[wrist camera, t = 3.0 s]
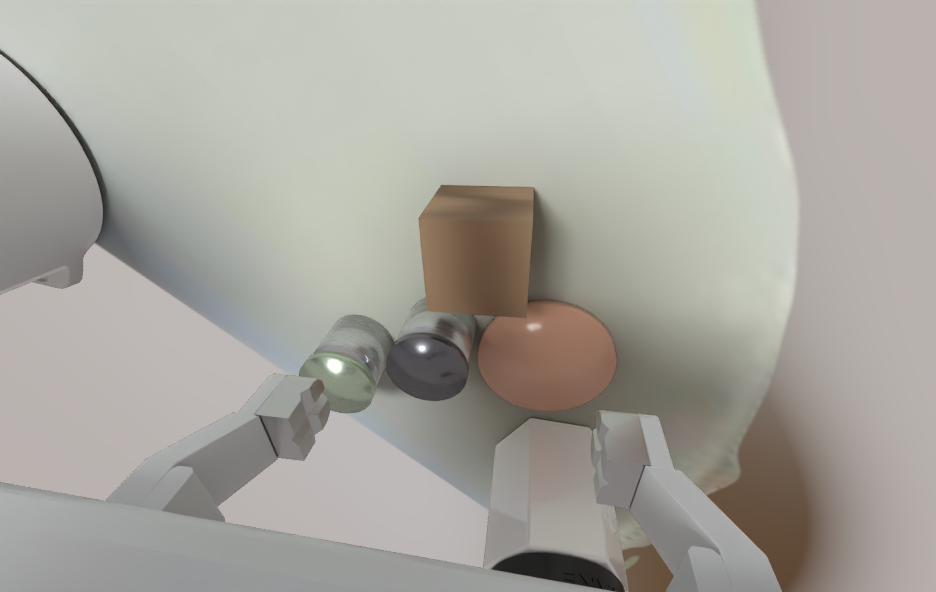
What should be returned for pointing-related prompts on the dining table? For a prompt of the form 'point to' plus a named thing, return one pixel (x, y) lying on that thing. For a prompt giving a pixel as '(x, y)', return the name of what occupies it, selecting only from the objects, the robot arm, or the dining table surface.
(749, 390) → the dining table surface
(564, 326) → the pink glossy round part
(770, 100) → the dining table surface
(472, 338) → the tin
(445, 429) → the dining table surface
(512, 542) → the jar
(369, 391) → the tin
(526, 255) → the walnut block
